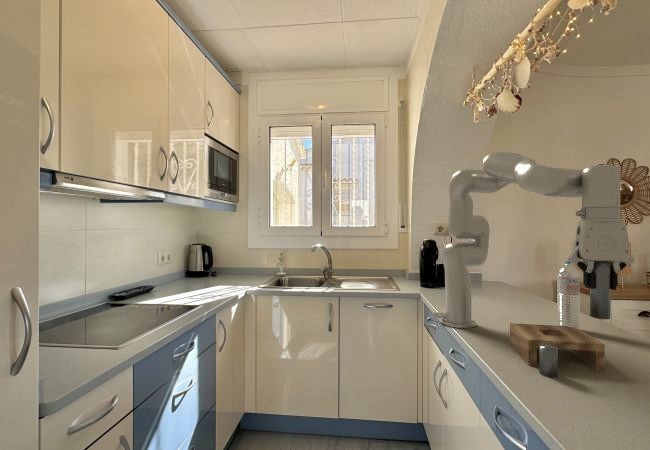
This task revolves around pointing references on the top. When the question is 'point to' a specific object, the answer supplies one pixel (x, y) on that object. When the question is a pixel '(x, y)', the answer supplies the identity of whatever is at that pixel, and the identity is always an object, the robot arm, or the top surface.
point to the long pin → (601, 291)
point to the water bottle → (568, 296)
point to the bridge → (556, 343)
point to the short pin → (548, 360)
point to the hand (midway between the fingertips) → (600, 287)
